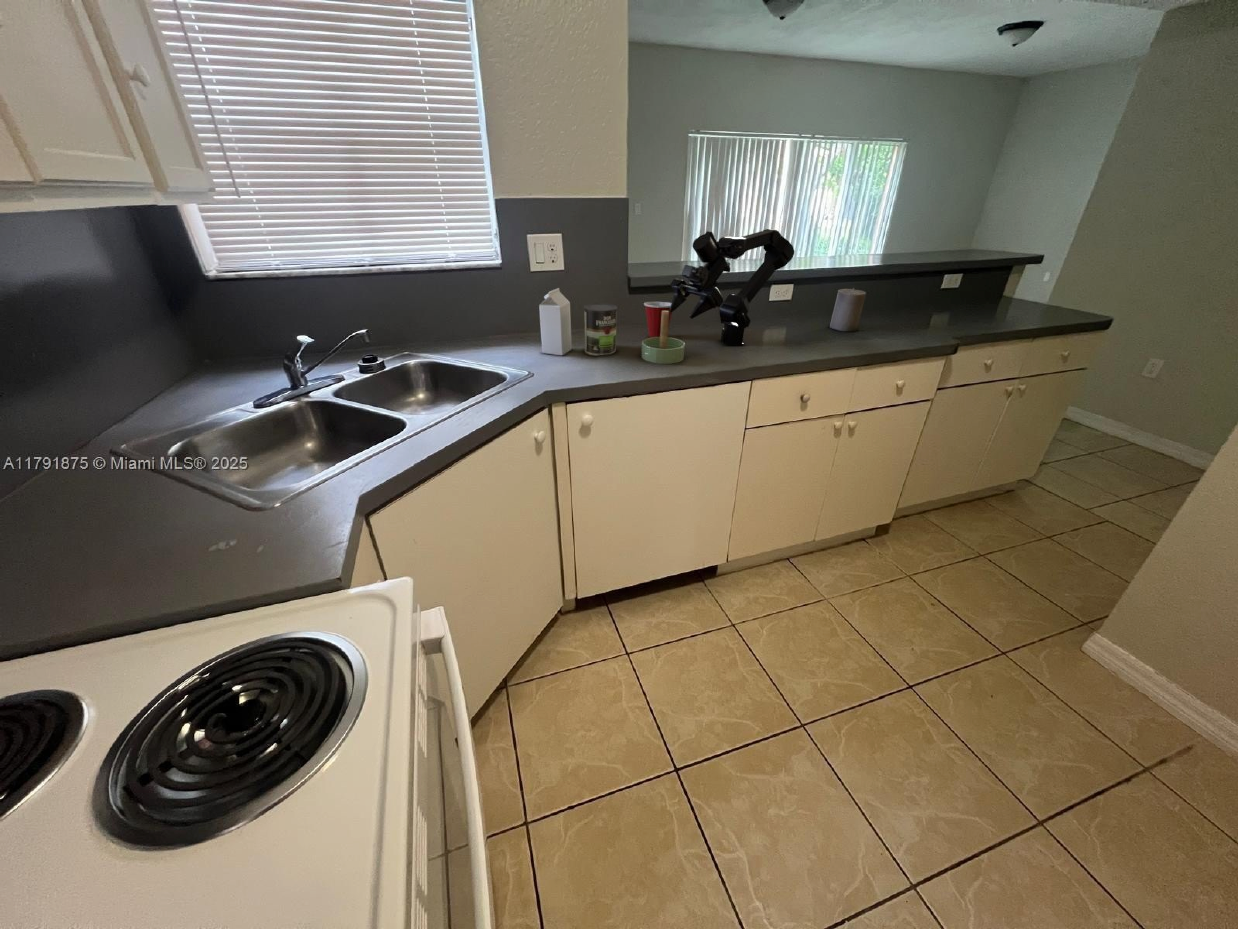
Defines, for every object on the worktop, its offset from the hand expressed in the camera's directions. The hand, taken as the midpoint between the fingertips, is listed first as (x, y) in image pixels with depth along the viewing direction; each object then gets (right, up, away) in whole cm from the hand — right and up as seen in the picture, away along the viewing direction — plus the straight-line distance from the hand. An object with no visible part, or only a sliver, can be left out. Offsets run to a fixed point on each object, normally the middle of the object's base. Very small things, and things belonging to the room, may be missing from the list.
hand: (680, 314), depth 148 cm
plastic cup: (-5, -1, +23) cm, 24 cm away
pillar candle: (+68, +7, +39) cm, 78 cm away
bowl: (-5, -13, +4) cm, 14 cm away
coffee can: (-25, -9, +9) cm, 28 cm away
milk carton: (-39, -10, +8) cm, 41 cm away
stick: (-5, -12, +3) cm, 14 cm away
